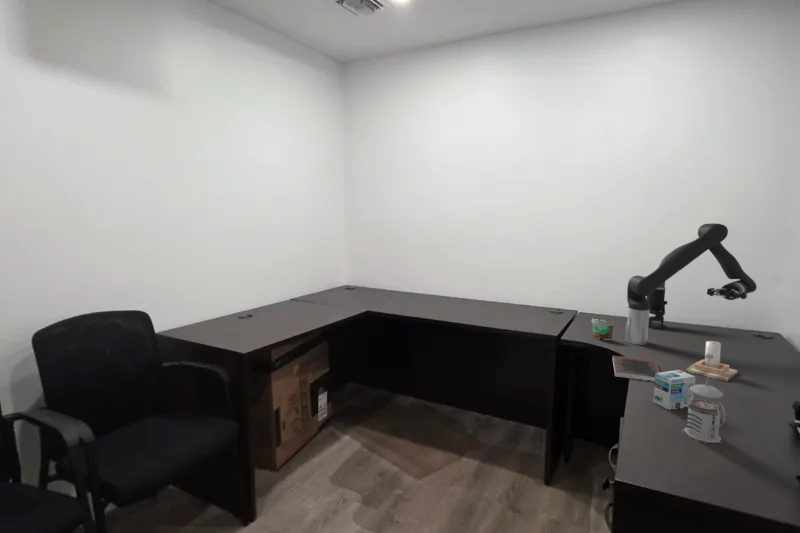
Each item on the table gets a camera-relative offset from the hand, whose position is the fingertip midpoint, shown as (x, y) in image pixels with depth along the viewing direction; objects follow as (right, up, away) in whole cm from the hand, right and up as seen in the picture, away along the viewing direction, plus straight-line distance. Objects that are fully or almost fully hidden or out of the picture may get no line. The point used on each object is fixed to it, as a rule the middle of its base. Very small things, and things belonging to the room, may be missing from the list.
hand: (722, 295), depth 196 cm
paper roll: (-16, -29, -16) cm, 37 cm away
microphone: (0, -21, +53) cm, 57 cm away
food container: (-41, -24, +31) cm, 57 cm away
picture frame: (-46, -31, -13) cm, 57 cm away
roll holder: (-16, -30, -16) cm, 38 cm away
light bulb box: (-50, -35, -45) cm, 76 cm away
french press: (-54, -37, -67) cm, 94 cm away
